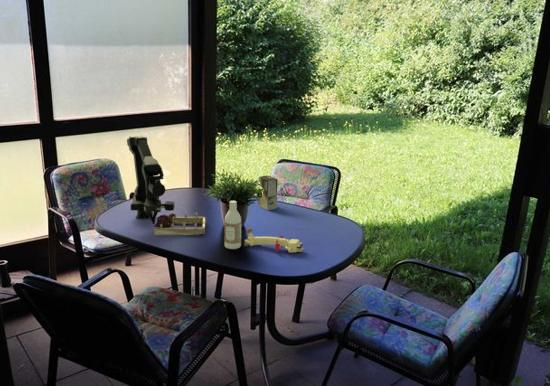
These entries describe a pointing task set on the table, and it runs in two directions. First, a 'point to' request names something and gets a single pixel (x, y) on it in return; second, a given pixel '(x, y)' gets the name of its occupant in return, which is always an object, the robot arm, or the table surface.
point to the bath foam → (233, 227)
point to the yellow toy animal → (274, 242)
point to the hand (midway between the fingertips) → (153, 223)
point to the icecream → (164, 221)
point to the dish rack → (183, 230)
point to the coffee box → (268, 193)
